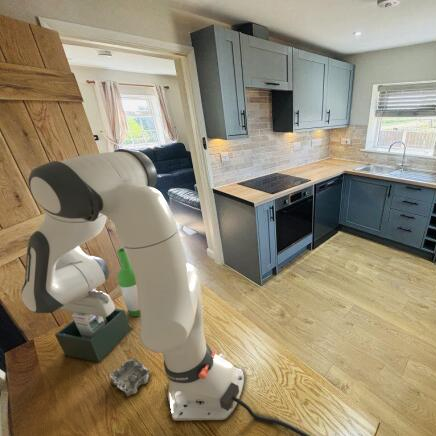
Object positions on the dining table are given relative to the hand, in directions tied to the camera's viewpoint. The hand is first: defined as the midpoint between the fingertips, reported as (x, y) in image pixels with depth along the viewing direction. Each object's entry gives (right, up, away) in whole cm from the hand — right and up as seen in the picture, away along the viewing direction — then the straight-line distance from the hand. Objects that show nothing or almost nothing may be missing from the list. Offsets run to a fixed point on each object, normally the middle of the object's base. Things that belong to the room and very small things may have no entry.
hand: (90, 320), depth 83 cm
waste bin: (0, -10, +4) cm, 11 cm away
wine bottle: (+5, -4, +18) cm, 20 cm away
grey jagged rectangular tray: (+20, -16, -8) cm, 26 cm away
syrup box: (0, -9, +4) cm, 10 cm away
